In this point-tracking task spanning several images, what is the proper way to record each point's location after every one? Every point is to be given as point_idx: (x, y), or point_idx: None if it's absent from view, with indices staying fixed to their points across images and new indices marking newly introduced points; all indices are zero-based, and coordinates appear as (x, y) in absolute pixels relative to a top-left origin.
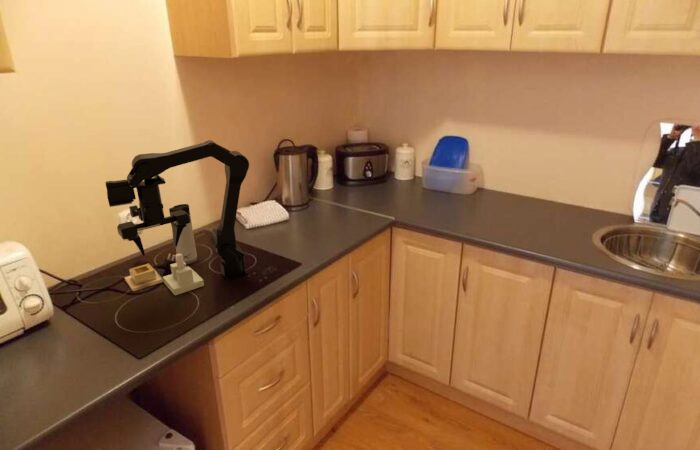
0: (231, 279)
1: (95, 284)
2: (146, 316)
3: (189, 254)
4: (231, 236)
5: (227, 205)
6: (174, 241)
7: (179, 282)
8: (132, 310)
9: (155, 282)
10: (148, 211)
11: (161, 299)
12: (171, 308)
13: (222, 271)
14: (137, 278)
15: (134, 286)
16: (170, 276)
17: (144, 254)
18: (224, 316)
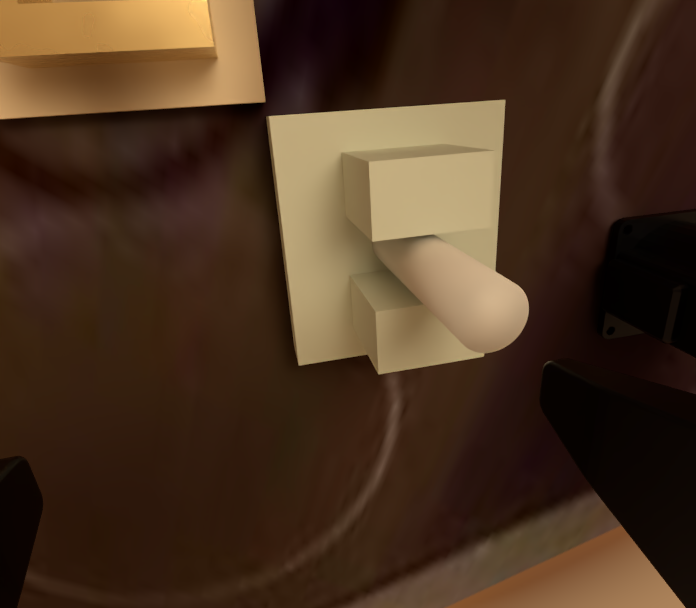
0: (608, 334)
1: None
2: (104, 483)
3: None
4: None
5: None
6: (604, 454)
7: (355, 321)
8: (16, 392)
9: (202, 104)
10: None
11: (210, 349)
12: (246, 463)
13: (624, 290)
14: (27, 61)
15: (12, 89)
16: (327, 151)
17: (33, 536)
18: (429, 593)
